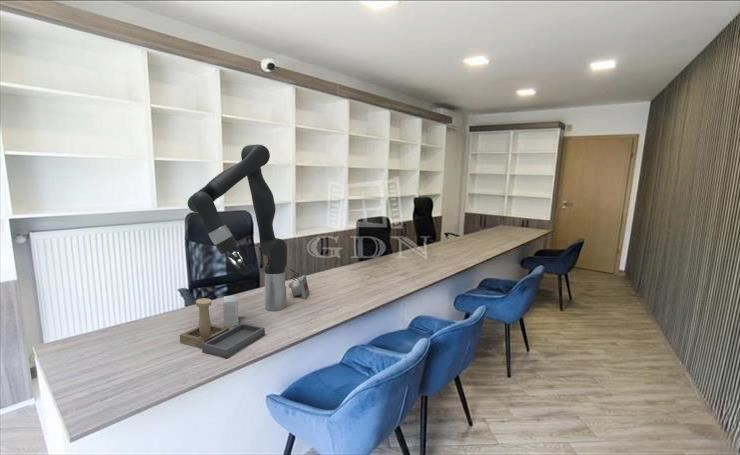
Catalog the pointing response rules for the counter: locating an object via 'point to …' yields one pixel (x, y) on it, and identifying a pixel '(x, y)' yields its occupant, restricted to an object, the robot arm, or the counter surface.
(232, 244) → the robot arm
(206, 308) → the handle
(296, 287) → the voltmeter
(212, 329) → the socket collar
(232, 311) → the small box
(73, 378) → the counter surface
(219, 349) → the tray
